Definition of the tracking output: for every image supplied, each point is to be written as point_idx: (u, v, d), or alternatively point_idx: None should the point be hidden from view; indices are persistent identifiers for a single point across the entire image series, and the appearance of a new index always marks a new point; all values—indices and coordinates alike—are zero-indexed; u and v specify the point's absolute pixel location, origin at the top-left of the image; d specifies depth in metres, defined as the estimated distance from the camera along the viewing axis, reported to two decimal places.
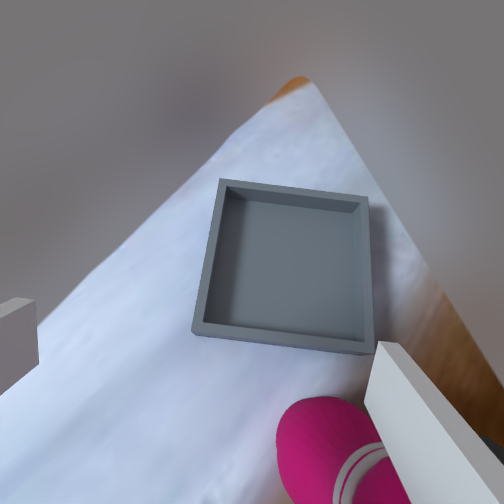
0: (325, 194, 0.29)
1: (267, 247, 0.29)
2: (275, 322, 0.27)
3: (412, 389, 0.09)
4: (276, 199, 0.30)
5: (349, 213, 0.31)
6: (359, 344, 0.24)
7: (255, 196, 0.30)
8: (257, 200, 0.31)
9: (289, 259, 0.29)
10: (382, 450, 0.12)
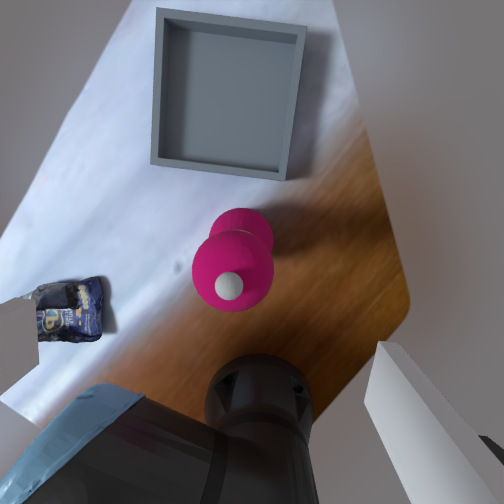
0: (263, 24, 0.29)
1: (211, 86, 0.33)
2: (217, 156, 0.34)
3: (412, 389, 0.09)
4: (217, 30, 0.31)
5: (291, 44, 0.31)
6: (274, 174, 0.32)
7: (196, 27, 0.30)
8: (200, 31, 0.31)
9: (230, 99, 0.33)
10: None
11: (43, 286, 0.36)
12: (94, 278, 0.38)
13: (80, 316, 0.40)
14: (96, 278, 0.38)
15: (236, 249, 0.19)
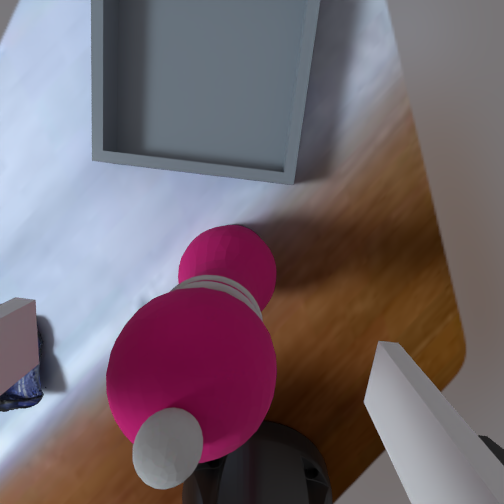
0: None
1: (183, 44, 0.22)
2: (194, 148, 0.23)
3: (412, 389, 0.09)
4: None
5: None
6: (277, 174, 0.22)
7: None
8: None
9: (211, 63, 0.22)
10: (193, 283, 0.13)
11: None
12: None
13: None
14: None
15: (191, 347, 0.09)
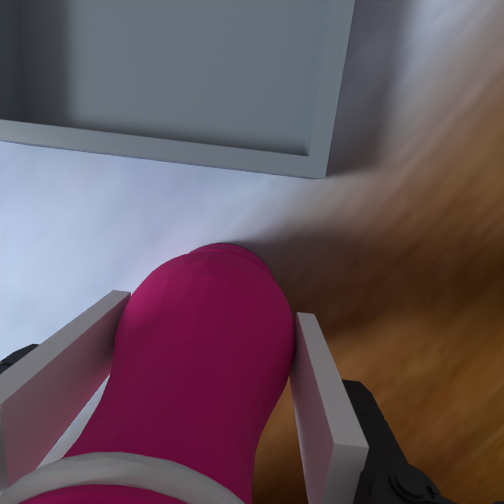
0: None
1: None
2: (155, 118, 0.14)
3: (305, 345, 0.10)
4: None
5: None
6: (297, 160, 0.12)
7: None
8: None
9: None
10: None
11: None
12: None
13: None
14: None
15: None
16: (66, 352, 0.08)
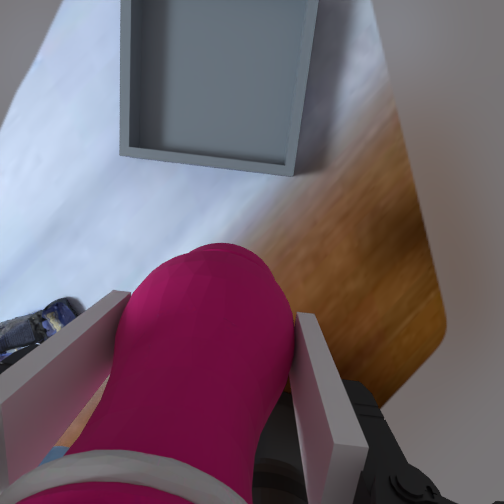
0: None
1: (197, 54, 0.25)
2: (206, 145, 0.27)
3: (305, 345, 0.10)
4: None
5: None
6: (279, 167, 0.25)
7: None
8: None
9: (222, 70, 0.25)
10: None
11: (0, 325, 0.30)
12: (59, 300, 0.31)
13: None
14: (62, 299, 0.31)
15: None
16: (66, 352, 0.08)
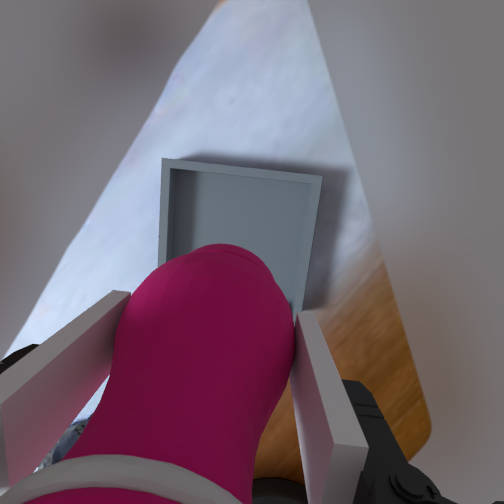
0: (276, 174, 0.27)
1: (219, 224, 0.31)
2: None
3: (305, 345, 0.10)
4: (226, 174, 0.29)
5: (305, 183, 0.30)
6: None
7: None
8: (208, 172, 0.29)
9: (240, 236, 0.31)
10: None
11: None
12: None
13: None
14: None
15: None
16: (66, 352, 0.08)
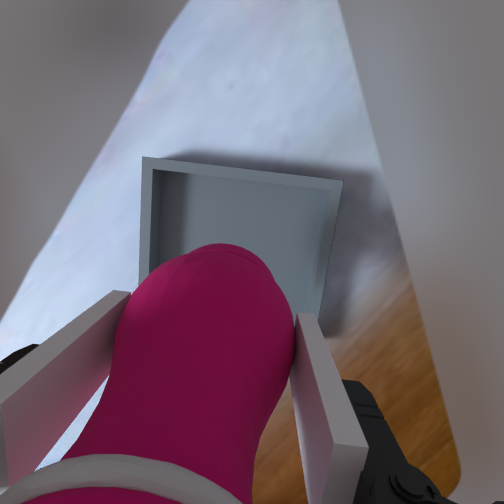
0: (285, 178, 0.22)
1: (215, 237, 0.25)
2: None
3: (305, 345, 0.10)
4: None
5: (320, 189, 0.24)
6: None
7: None
8: (200, 175, 0.24)
9: None
10: None
11: None
12: None
13: None
14: None
15: None
16: (66, 352, 0.08)
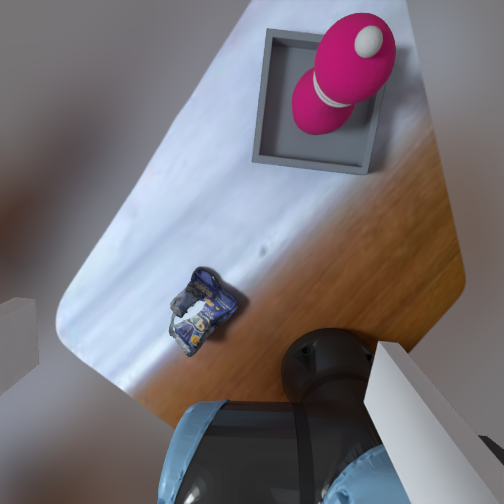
0: None
1: None
2: (305, 153, 0.40)
3: (412, 389, 0.09)
4: (314, 47, 0.36)
5: None
6: (358, 168, 0.38)
7: (296, 44, 0.36)
8: (297, 47, 0.37)
9: None
10: None
11: (173, 300, 0.43)
12: (196, 269, 0.44)
13: (213, 304, 0.46)
14: (197, 268, 0.44)
15: (369, 17, 0.21)
16: None
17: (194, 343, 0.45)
